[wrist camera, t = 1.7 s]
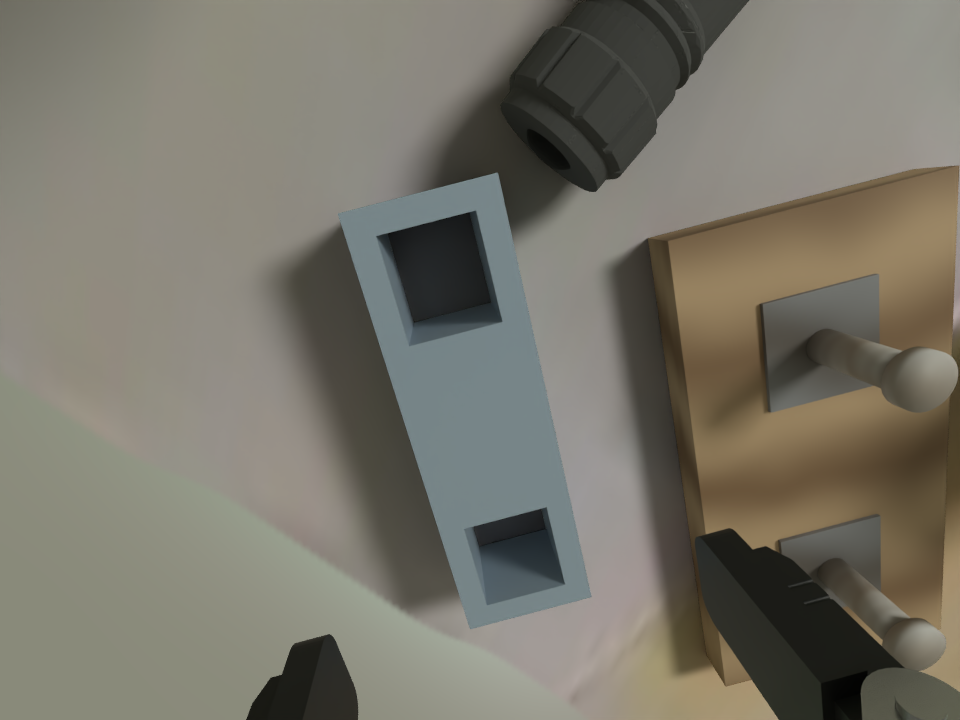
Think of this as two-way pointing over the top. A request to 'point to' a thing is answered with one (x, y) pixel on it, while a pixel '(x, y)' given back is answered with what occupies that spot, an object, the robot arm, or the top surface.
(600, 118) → the flashlight
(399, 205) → the blue-grey block with holes
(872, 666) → the robot arm
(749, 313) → the mount board
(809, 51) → the top surface
